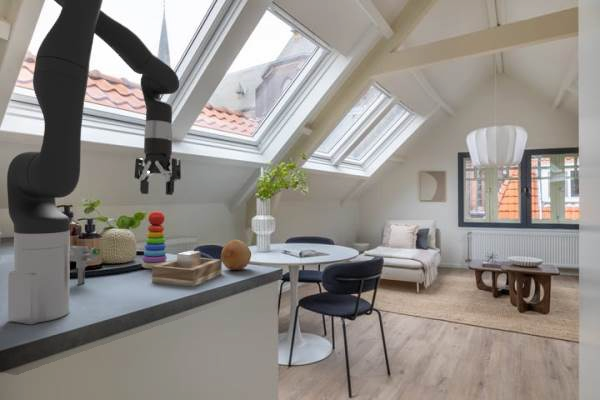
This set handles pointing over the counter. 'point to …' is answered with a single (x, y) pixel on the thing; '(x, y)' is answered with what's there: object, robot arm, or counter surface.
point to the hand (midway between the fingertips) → (156, 194)
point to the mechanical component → (83, 259)
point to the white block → (188, 259)
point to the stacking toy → (155, 241)
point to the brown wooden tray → (186, 272)
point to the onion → (236, 255)
